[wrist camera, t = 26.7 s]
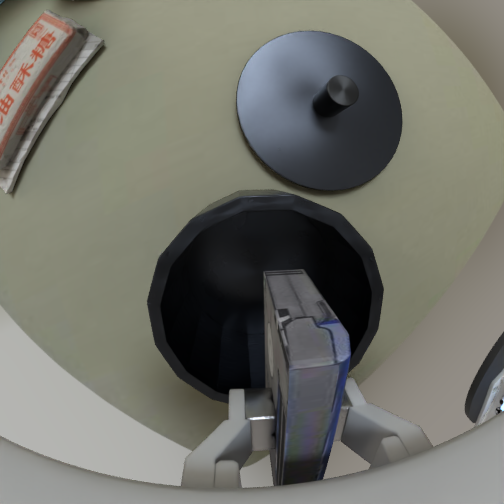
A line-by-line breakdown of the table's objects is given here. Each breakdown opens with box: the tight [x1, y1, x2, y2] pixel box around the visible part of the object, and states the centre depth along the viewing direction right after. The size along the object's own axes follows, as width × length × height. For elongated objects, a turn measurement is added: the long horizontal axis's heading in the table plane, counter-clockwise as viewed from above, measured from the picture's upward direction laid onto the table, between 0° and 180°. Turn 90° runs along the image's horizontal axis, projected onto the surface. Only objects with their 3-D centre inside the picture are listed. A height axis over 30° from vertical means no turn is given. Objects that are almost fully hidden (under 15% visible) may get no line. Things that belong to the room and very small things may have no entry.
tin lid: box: [236, 31, 402, 191], centre depth 19 cm, size 15×15×5 cm
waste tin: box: [147, 190, 384, 404], centre depth 20 cm, size 14×14×10 cm
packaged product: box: [0, 10, 104, 194], centre depth 17 cm, size 18×5×10 cm
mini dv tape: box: [263, 269, 351, 486], centre depth 9 cm, size 8×2×6 cm, turn 2°
